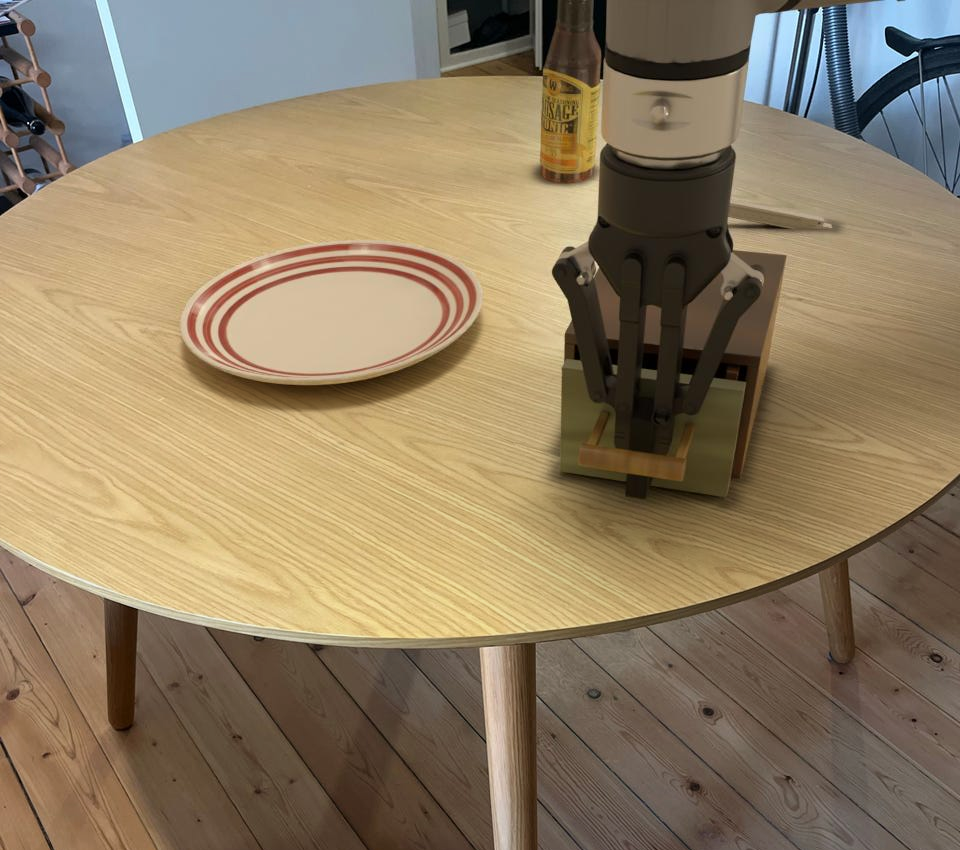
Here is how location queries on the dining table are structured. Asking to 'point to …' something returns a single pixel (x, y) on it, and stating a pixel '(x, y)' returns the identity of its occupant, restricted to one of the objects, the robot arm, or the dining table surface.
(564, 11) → the sauce bottle
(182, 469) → the dining table surface
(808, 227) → the caliper
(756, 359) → the cabinet
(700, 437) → the drawer
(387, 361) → the dinner plate
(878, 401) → the dining table surface
